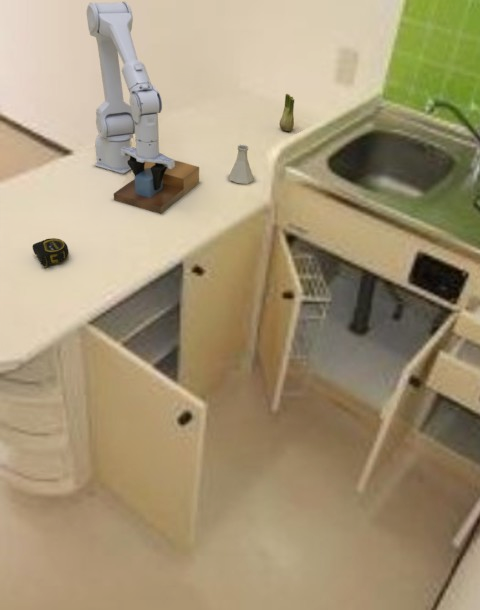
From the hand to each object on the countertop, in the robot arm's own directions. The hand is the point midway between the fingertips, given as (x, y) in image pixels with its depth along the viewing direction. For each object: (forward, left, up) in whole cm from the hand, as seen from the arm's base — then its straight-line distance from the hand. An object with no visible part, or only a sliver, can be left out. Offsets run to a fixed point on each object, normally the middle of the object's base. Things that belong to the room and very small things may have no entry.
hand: (149, 186), depth 171 cm
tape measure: (-3, -37, -4) cm, 37 cm away
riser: (0, +5, -3) cm, 6 cm away
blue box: (0, 0, -1) cm, 1 cm away
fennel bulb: (-18, +56, 0) cm, 59 cm away
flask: (+16, +24, -4) cm, 29 cm away
